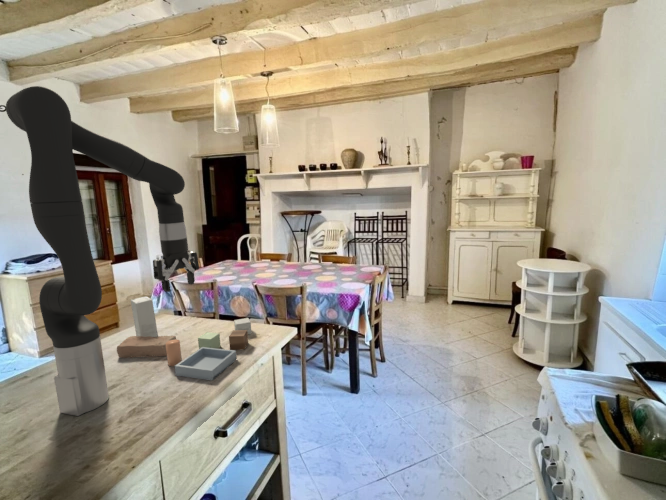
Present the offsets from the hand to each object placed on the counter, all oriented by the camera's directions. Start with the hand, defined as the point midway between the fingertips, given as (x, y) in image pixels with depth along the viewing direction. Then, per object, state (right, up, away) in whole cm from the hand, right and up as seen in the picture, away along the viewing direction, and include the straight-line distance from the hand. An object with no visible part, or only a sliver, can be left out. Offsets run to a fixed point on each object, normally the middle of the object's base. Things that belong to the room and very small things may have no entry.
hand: (179, 287), depth 104 cm
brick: (-15, -23, +9) cm, 29 cm away
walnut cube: (+16, -22, +11) cm, 29 cm away
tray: (+10, -24, -3) cm, 26 cm away
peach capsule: (-2, -24, 0) cm, 24 cm away
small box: (+14, -20, +23) cm, 33 cm away
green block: (+6, -22, +9) cm, 25 cm away
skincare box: (-23, -21, +21) cm, 38 cm away
